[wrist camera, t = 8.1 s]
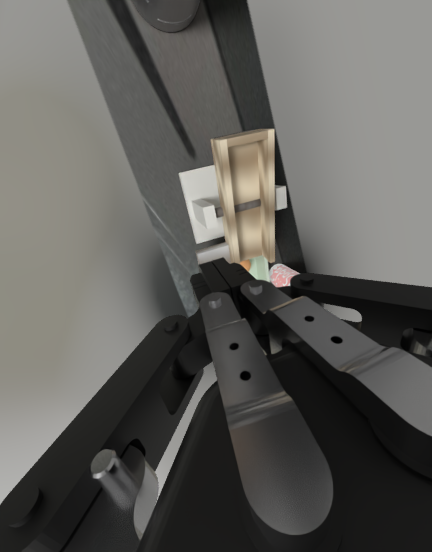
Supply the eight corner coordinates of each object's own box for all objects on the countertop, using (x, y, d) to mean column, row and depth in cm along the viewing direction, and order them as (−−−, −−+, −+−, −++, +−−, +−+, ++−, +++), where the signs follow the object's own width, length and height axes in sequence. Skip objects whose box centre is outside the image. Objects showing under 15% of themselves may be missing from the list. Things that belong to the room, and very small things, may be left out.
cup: (211, 255, 44) (218, 264, 40) (254, 242, 45) (266, 249, 41) (222, 302, 49) (229, 314, 45) (260, 289, 51) (271, 300, 46)
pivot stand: (178, 173, 37) (188, 172, 28) (257, 154, 39) (289, 149, 30) (195, 242, 42) (208, 260, 33) (264, 222, 44) (293, 235, 36)
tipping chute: (169, 147, 28) (175, 150, 24) (262, 127, 30) (281, 127, 26) (198, 267, 38) (205, 283, 34) (265, 247, 40) (279, 259, 36)
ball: (235, 281, 43) (229, 273, 46) (255, 275, 43) (247, 267, 47) (232, 262, 41) (225, 255, 44) (253, 256, 41) (244, 249, 45)
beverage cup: (286, 255, 49) (333, 283, 37) (292, 278, 52) (337, 310, 39) (261, 268, 48) (300, 300, 36) (269, 290, 51) (307, 327, 39)
